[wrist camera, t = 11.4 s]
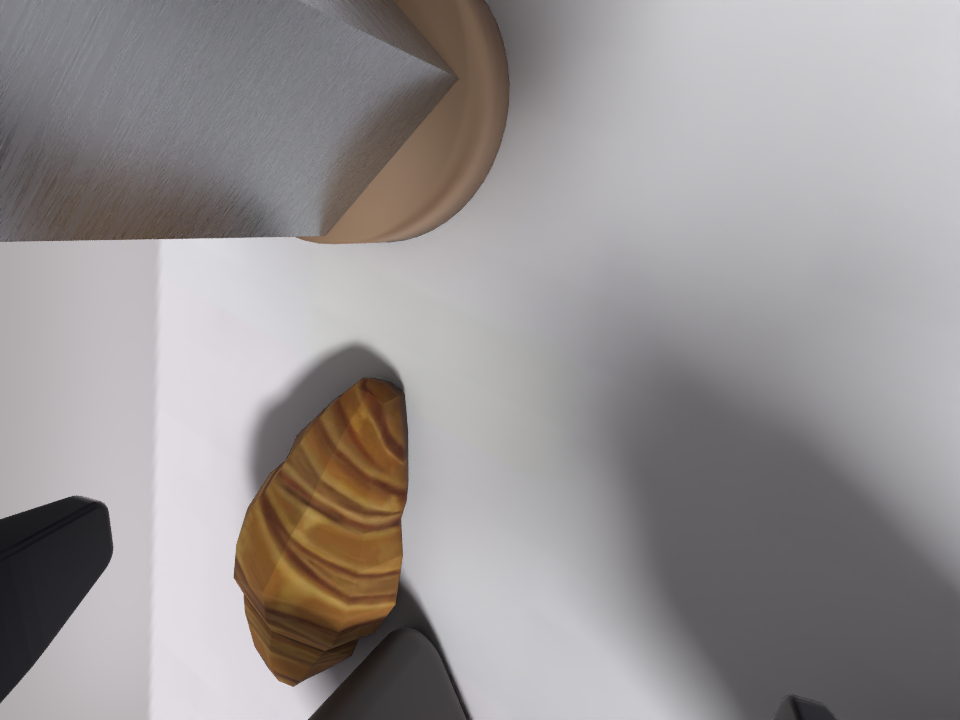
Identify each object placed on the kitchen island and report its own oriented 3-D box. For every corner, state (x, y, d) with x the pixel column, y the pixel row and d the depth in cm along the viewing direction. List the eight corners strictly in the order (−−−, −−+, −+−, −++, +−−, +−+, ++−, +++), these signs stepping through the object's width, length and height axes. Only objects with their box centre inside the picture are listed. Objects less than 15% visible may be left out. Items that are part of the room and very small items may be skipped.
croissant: (376, 702, 26) (296, 799, 22) (251, 613, 28) (154, 685, 24) (484, 419, 22) (412, 467, 18) (328, 337, 24) (227, 361, 20)
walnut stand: (567, 44, 18) (533, 13, 16) (413, 295, 22) (363, 305, 19) (344, -108, 20) (279, -160, 18) (235, 145, 24) (166, 135, 21)
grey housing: (459, 78, 17) (-167, -225, 6) (325, 236, 19) (-290, 247, 8) (323, -84, 17) (-478, -645, 6) (211, 89, 20) (-499, -88, 9)
